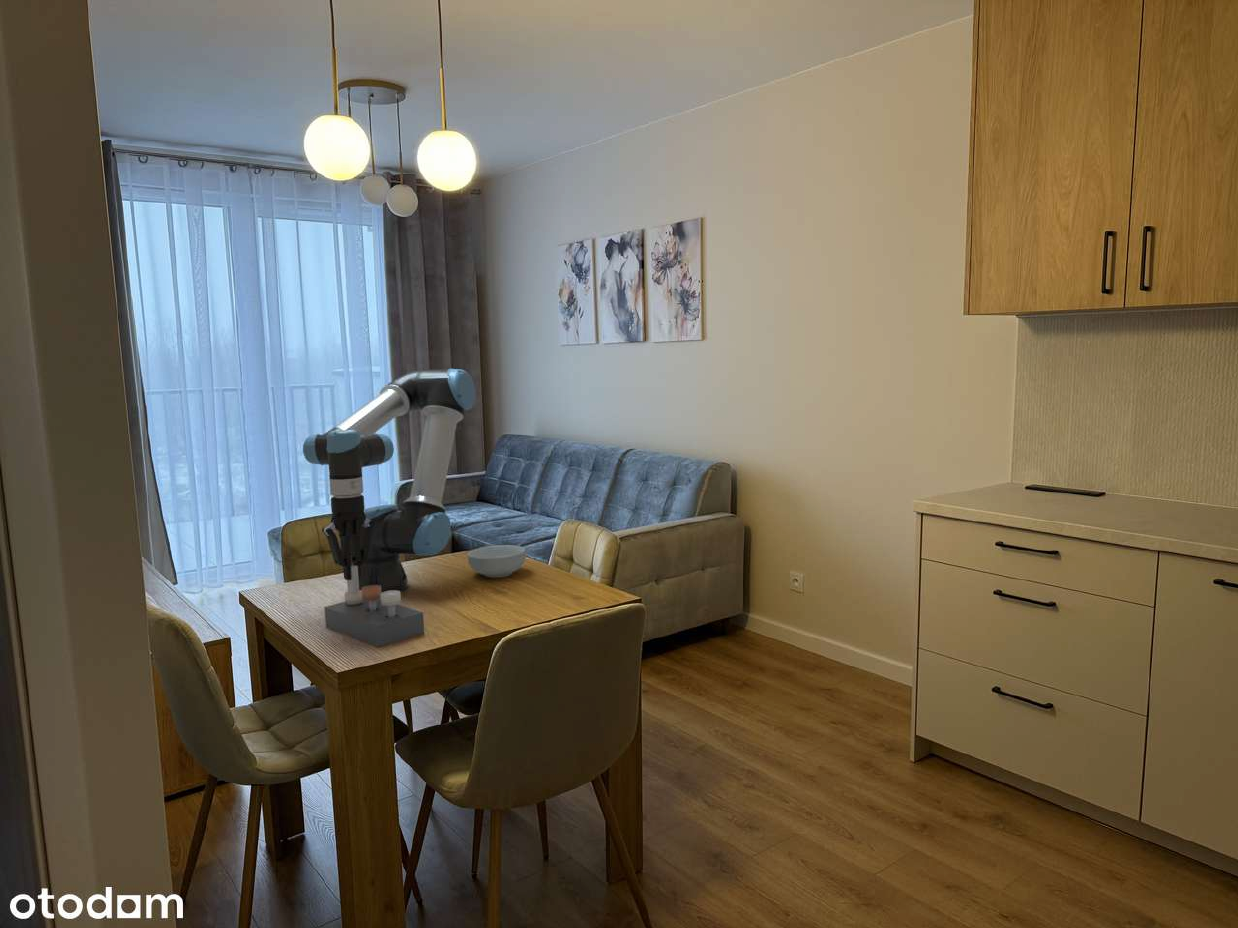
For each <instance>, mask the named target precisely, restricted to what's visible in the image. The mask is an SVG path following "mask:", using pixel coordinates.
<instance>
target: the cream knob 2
mask: <svg viewBox="0 0 1238 928" xmlns="http://www.w3.org/2000/svg"><path fill="white" fill-rule="evenodd" d="M380 595H381V598H380V599H381V605H383V606H388V618H393V617H396V615H395V605H401V603H402V595H401V591H397V590H391V591H385V592H382V593H381V594H380Z"/></svg>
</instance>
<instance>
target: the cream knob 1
mask: <svg viewBox="0 0 1238 928" xmlns="http://www.w3.org/2000/svg"><path fill="white" fill-rule="evenodd" d="M344 602H345V604H347V605H352V606H354V605H357V604H361V603H363V602H364V599H362V590H359V592H358V593H350V592H348V591H346V592H344Z"/></svg>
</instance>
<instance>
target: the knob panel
mask: <svg viewBox="0 0 1238 928" xmlns="http://www.w3.org/2000/svg"><path fill="white" fill-rule="evenodd" d="M323 608H324V618H325V619H324V620H325V621H324V622H325V627H326V628H328V629H329V630H332V631H334V632H336V633H337V632H338V633H340V634H343V635H345V636H347V637H351V638H353V639H356V640H358V641H361V642H364V643H365V644H369V645H371V646H374V647H377V648H381V647H384V646H388V645H391V644H394V643H398V642H400V641H405V640H407V639H410V638H413V637H417V636H419V635H423V634H425V628H424V627H425V624H424V612H422V611H420V610H418V609H413V608H411V607H407V606H404V605H401V604H398V605H395V615H396V617H393V618H388V606H383V605H381V598H378V599H376V611H372V612H370V611H369V600H364V602H363V603H361V604H357V605H354V606H352V605H347V604H345V601H341V602H339V603H334V604H330V605H327V606H324V607H323Z"/></svg>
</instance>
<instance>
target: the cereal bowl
mask: <svg viewBox="0 0 1238 928" xmlns="http://www.w3.org/2000/svg"><path fill="white" fill-rule="evenodd" d="M526 555H527V554H526V548H524V546H519V545H511V544H505V545H504V544H502V545H501V544H500V545H499V544H498V545H490V546H489V545H488V546H483V547H480V548H479V547H478V548H475V549H472V550H470V551H469V552H468V553H467V560H468V564H469V567H470V568H471V570H472V571H474V572H475V573H477V574H480V575H484V576H485V577H486V578H494V579H495V578H496V579H497V578H498V579H499V578H505V577H508V576H511V575H512V574H513V572H516V571H518V570H519V569H521V568H522V566H523V565H524V563H525V562H526Z"/></svg>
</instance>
